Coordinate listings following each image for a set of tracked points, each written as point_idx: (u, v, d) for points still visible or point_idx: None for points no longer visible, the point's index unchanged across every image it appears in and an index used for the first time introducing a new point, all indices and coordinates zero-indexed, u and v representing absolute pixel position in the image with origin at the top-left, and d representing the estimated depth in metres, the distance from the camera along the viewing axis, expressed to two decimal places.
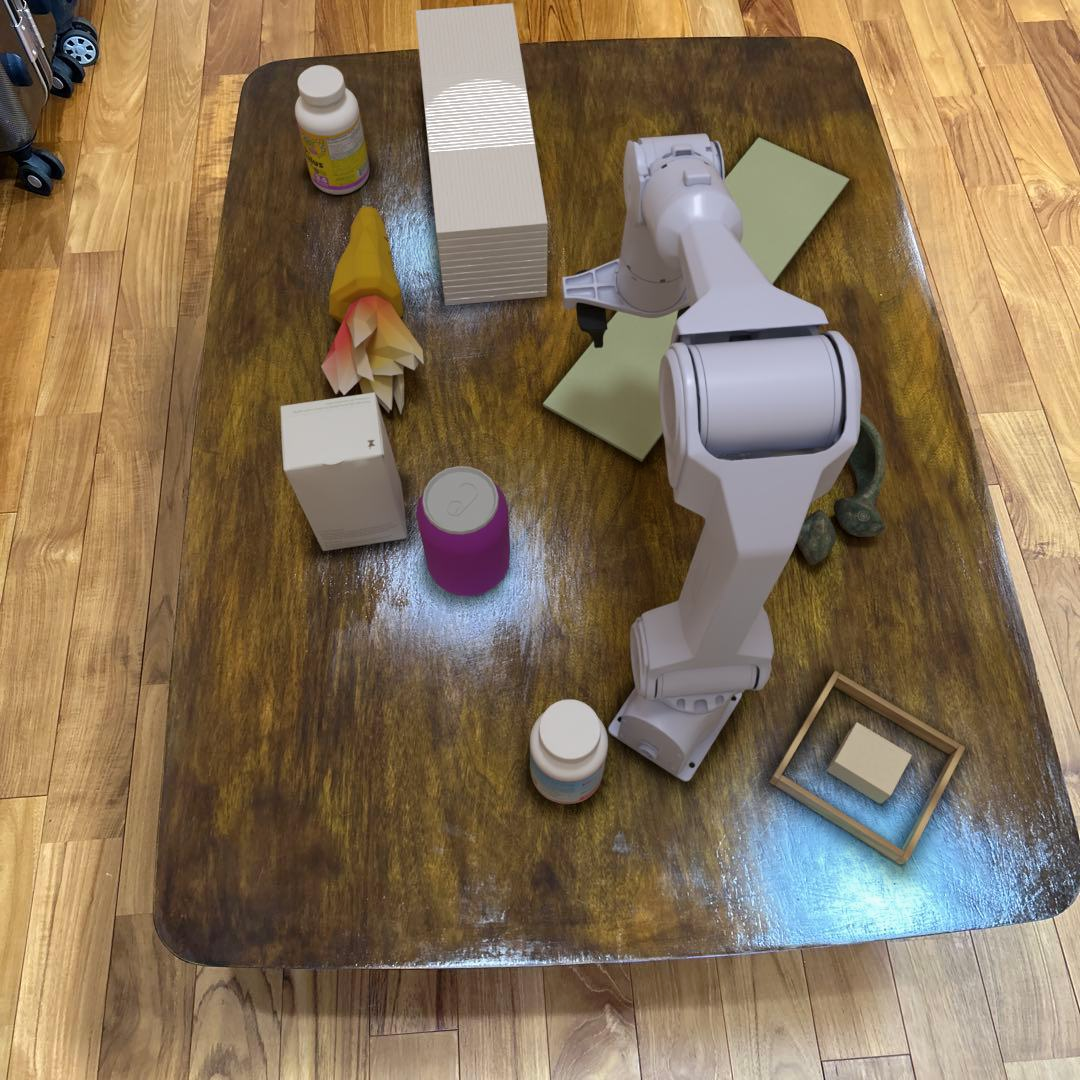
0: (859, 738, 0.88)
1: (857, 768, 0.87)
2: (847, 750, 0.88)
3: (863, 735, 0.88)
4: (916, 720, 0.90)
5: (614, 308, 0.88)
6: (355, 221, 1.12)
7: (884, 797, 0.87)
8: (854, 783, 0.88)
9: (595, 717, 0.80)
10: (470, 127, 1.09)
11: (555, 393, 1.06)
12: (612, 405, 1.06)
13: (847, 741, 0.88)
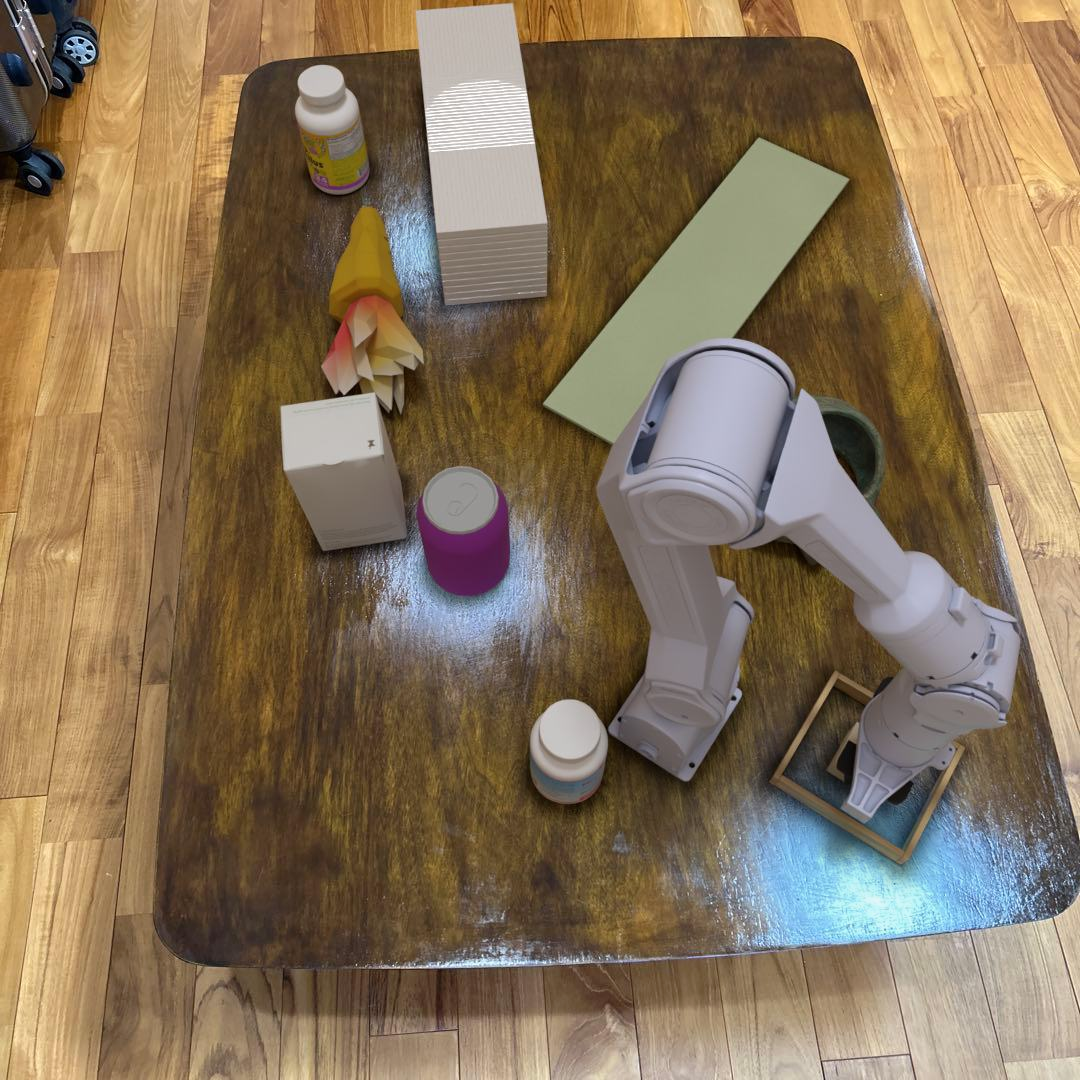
0: None
1: None
2: None
3: None
4: None
5: None
6: (355, 221, 1.12)
7: None
8: None
9: (595, 717, 0.80)
10: (470, 127, 1.09)
11: (555, 393, 1.06)
12: (612, 405, 1.06)
13: (847, 741, 0.88)
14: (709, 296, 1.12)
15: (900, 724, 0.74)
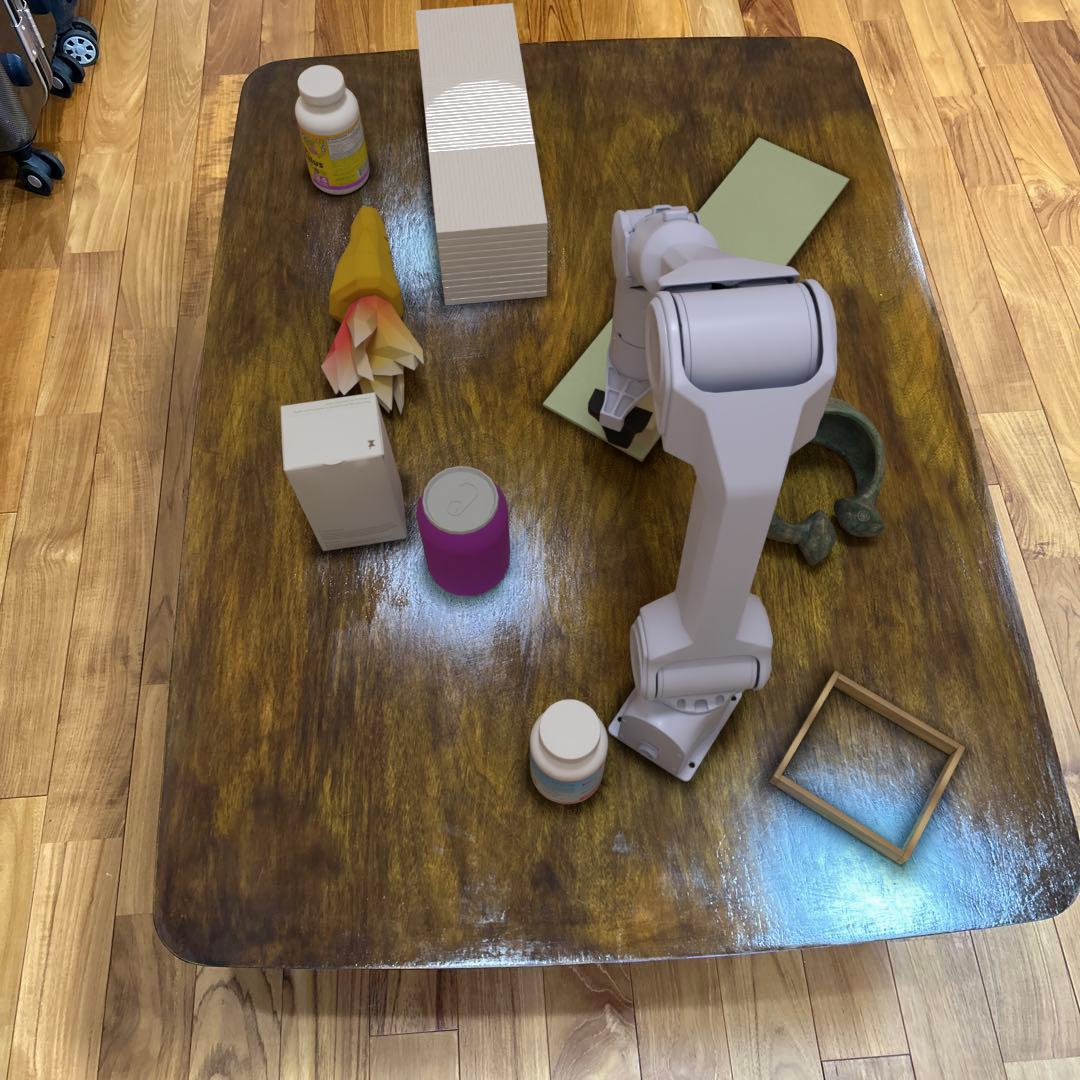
0: None
1: None
2: None
3: None
4: (916, 720, 0.90)
5: None
6: (355, 221, 1.12)
7: (648, 436, 1.02)
8: None
9: (595, 717, 0.80)
10: (470, 127, 1.09)
11: (555, 393, 1.06)
12: None
13: None
14: None
15: None
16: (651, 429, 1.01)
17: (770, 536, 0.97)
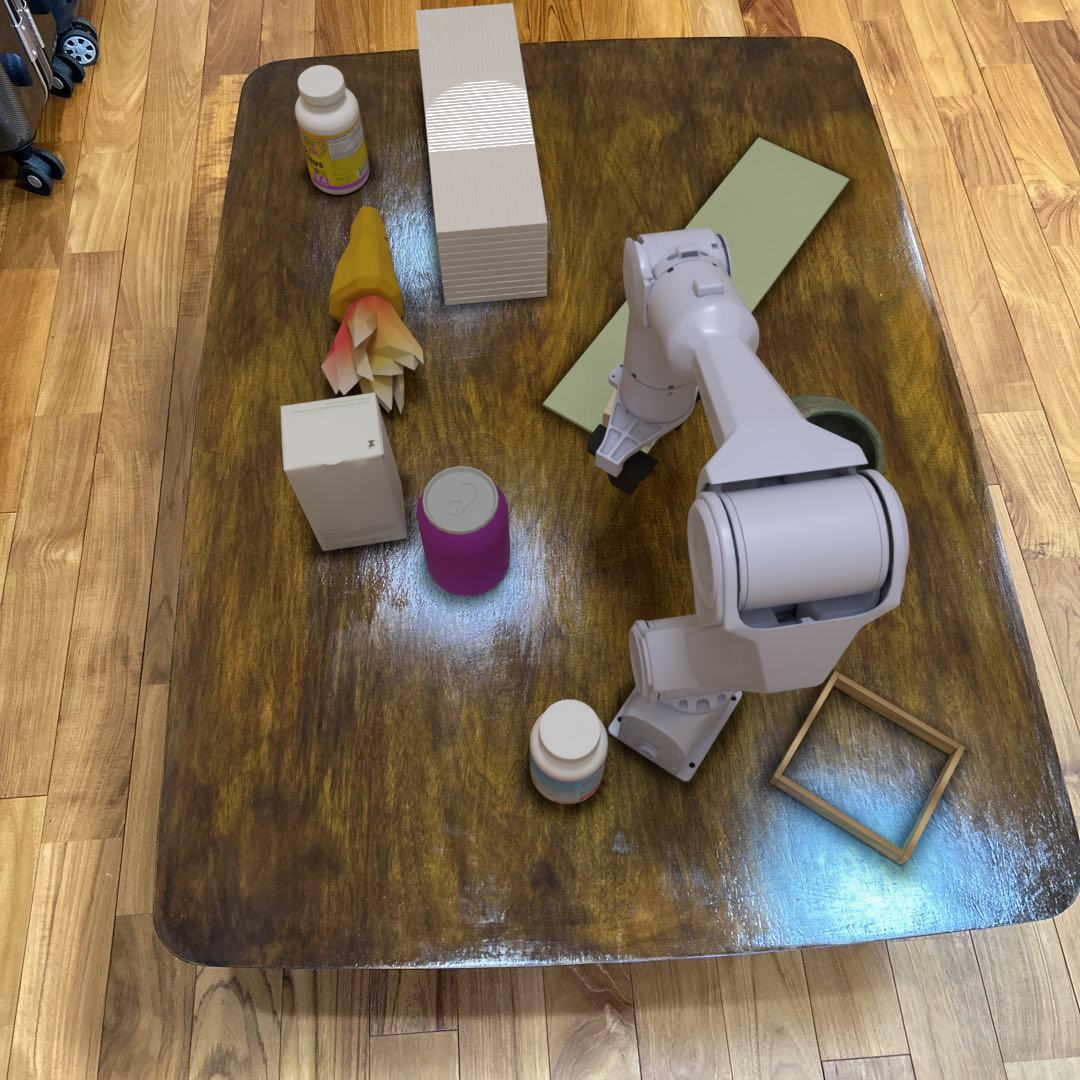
0: None
1: None
2: (613, 402, 1.02)
3: None
4: (916, 720, 0.90)
5: (657, 436, 0.82)
6: (355, 221, 1.12)
7: None
8: None
9: (595, 717, 0.80)
10: (470, 126, 1.09)
11: (555, 393, 1.06)
12: None
13: (612, 396, 1.03)
14: None
15: None
16: None
17: None
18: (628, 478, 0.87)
